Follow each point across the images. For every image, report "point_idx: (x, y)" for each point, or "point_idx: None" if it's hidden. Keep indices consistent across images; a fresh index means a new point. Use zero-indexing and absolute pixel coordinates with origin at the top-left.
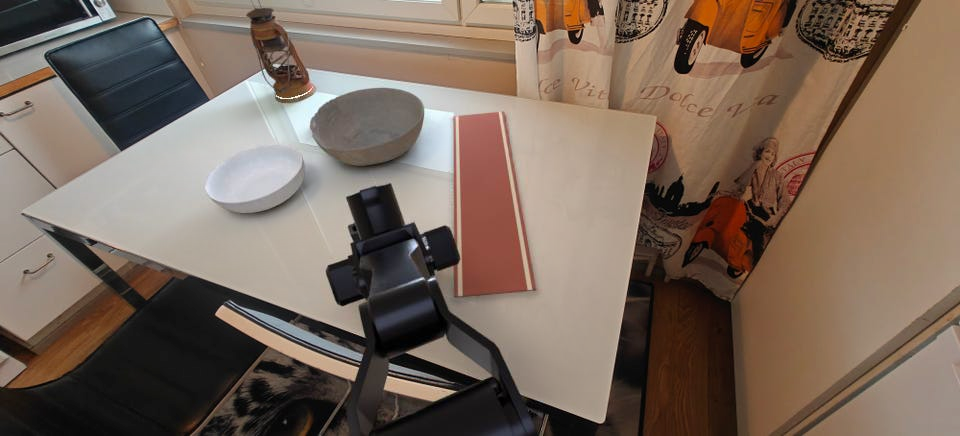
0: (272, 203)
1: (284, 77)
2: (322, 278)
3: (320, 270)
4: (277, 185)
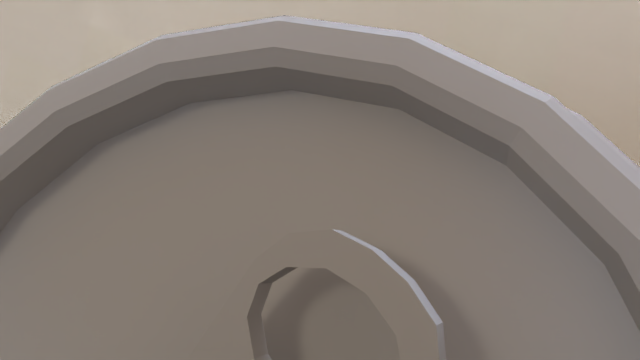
0: None
1: None
2: (9, 97)
3: (15, 43)
4: None
